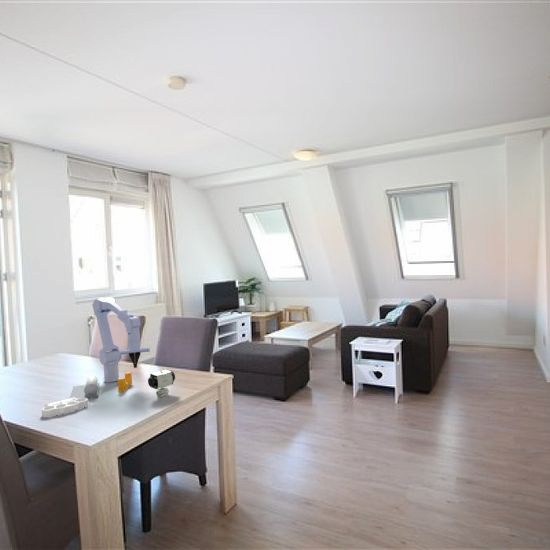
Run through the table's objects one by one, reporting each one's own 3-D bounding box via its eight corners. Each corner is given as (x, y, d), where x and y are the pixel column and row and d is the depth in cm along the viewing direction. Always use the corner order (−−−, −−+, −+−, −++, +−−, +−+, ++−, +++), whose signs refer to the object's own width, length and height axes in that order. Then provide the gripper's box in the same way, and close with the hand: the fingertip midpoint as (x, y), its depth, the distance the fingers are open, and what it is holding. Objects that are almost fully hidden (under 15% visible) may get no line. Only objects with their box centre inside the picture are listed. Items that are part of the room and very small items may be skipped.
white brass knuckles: (81, 401, 186) (92, 408, 175) (36, 412, 174) (46, 421, 163) (80, 394, 186) (92, 401, 175) (36, 404, 173) (46, 413, 163)
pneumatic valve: (148, 398, 185) (147, 372, 185) (170, 391, 194) (169, 366, 193) (155, 400, 181) (153, 374, 181) (177, 393, 190) (176, 368, 190)
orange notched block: (123, 384, 208) (122, 372, 207) (132, 384, 208) (131, 372, 207) (114, 392, 196) (114, 379, 195) (123, 392, 196) (123, 379, 195)
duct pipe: (73, 388, 204) (72, 376, 204) (99, 384, 209) (98, 372, 208) (69, 402, 184) (68, 388, 183) (98, 397, 188) (97, 384, 188)
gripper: (118, 343, 198) (120, 371, 198) (149, 340, 203) (151, 367, 204) (118, 341, 204) (119, 367, 205) (148, 338, 210) (149, 364, 210)
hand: (135, 367), depth 205 cm, fingers closed
